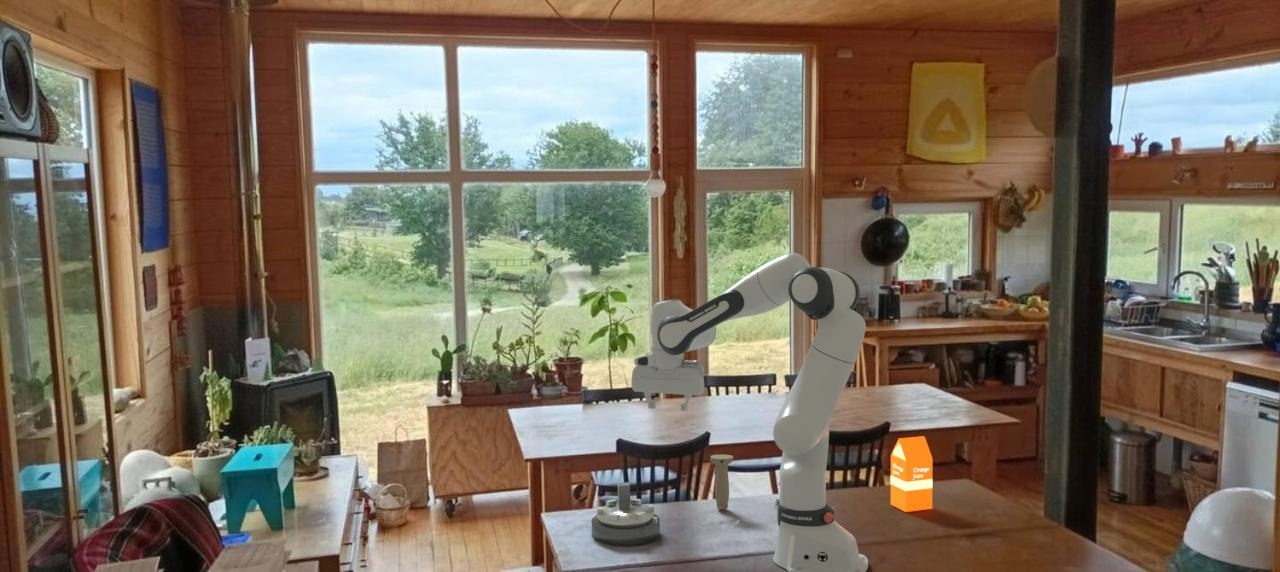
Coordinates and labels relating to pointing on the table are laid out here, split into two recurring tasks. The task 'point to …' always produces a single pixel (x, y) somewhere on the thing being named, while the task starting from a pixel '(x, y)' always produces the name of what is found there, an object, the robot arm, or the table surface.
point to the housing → (626, 533)
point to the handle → (722, 479)
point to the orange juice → (911, 475)
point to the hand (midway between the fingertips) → (668, 409)
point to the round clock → (625, 511)
